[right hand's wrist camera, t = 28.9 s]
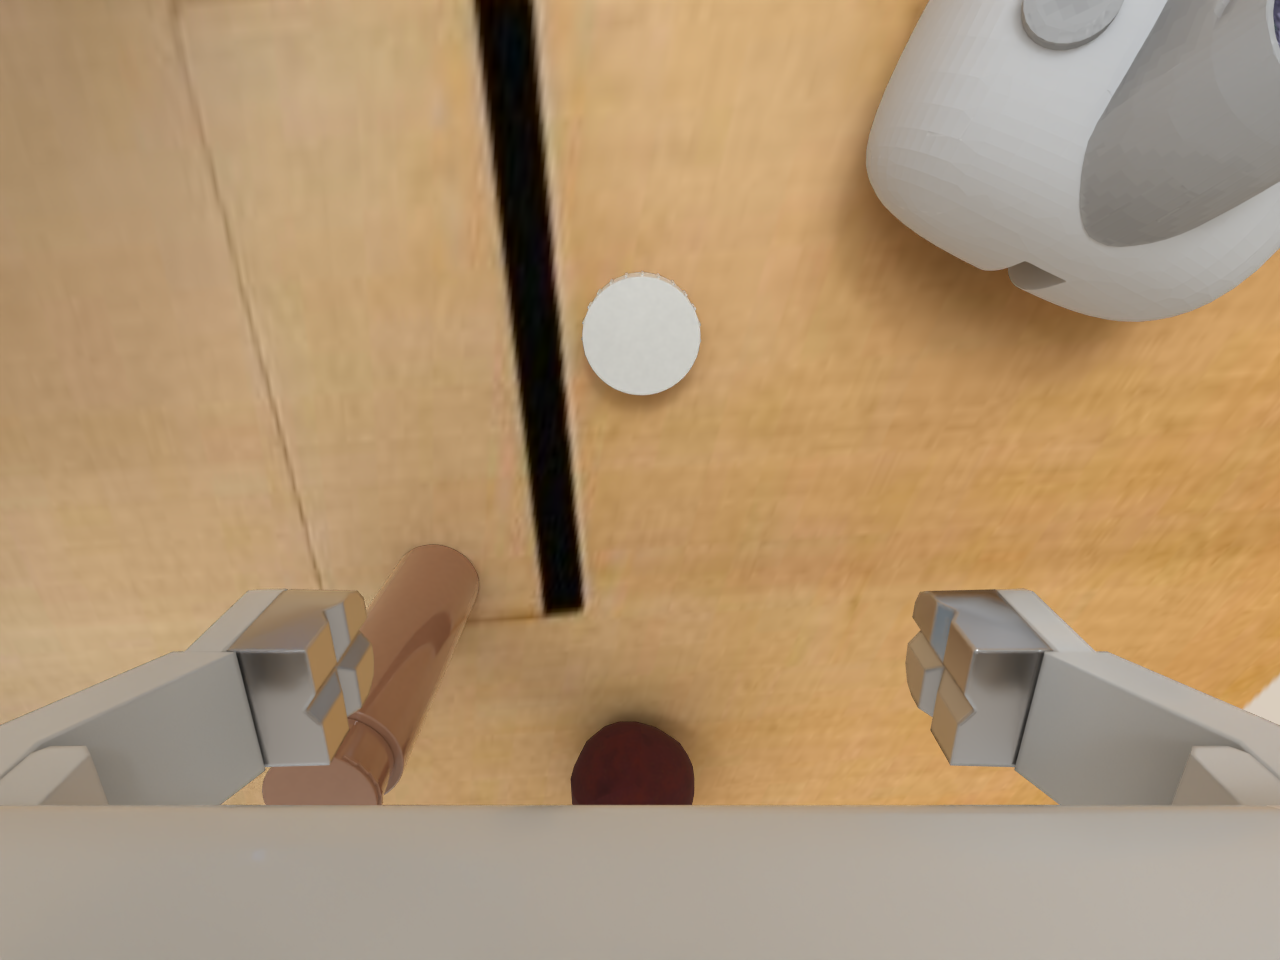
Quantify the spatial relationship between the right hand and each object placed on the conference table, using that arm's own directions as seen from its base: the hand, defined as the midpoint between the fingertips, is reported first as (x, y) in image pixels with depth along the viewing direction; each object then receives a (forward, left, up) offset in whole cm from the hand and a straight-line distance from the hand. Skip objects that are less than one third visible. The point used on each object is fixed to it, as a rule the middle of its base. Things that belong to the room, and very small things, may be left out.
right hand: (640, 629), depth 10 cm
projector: (-24, -2, -27) cm, 36 cm away
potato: (+14, +22, -27) cm, 37 cm away
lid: (0, 0, -25) cm, 25 cm away
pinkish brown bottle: (+18, +6, -27) cm, 32 cm away
